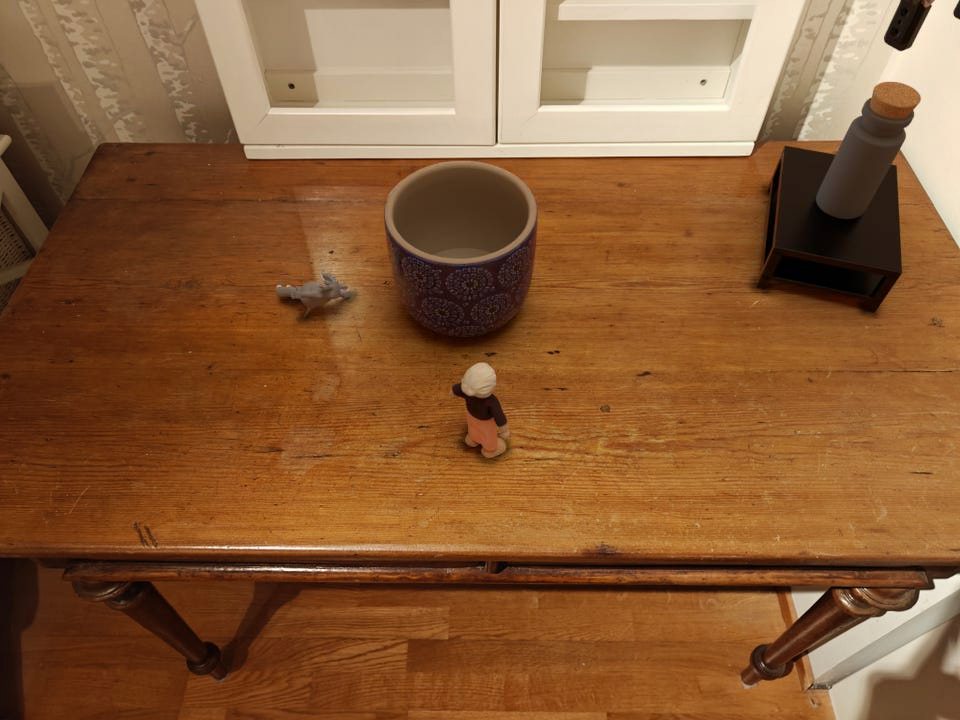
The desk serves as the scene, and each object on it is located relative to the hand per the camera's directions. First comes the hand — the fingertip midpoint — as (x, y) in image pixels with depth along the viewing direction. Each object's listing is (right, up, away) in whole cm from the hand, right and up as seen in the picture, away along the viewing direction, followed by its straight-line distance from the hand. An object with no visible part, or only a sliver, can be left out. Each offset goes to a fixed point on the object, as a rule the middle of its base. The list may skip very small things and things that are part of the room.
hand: (930, 32), depth 59 cm
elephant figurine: (-58, -22, +27) cm, 68 cm away
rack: (+6, -13, +33) cm, 36 cm away
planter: (-40, -20, +28) cm, 53 cm away
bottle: (+6, -8, +27) cm, 29 cm away
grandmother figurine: (-38, -36, +16) cm, 55 cm away
